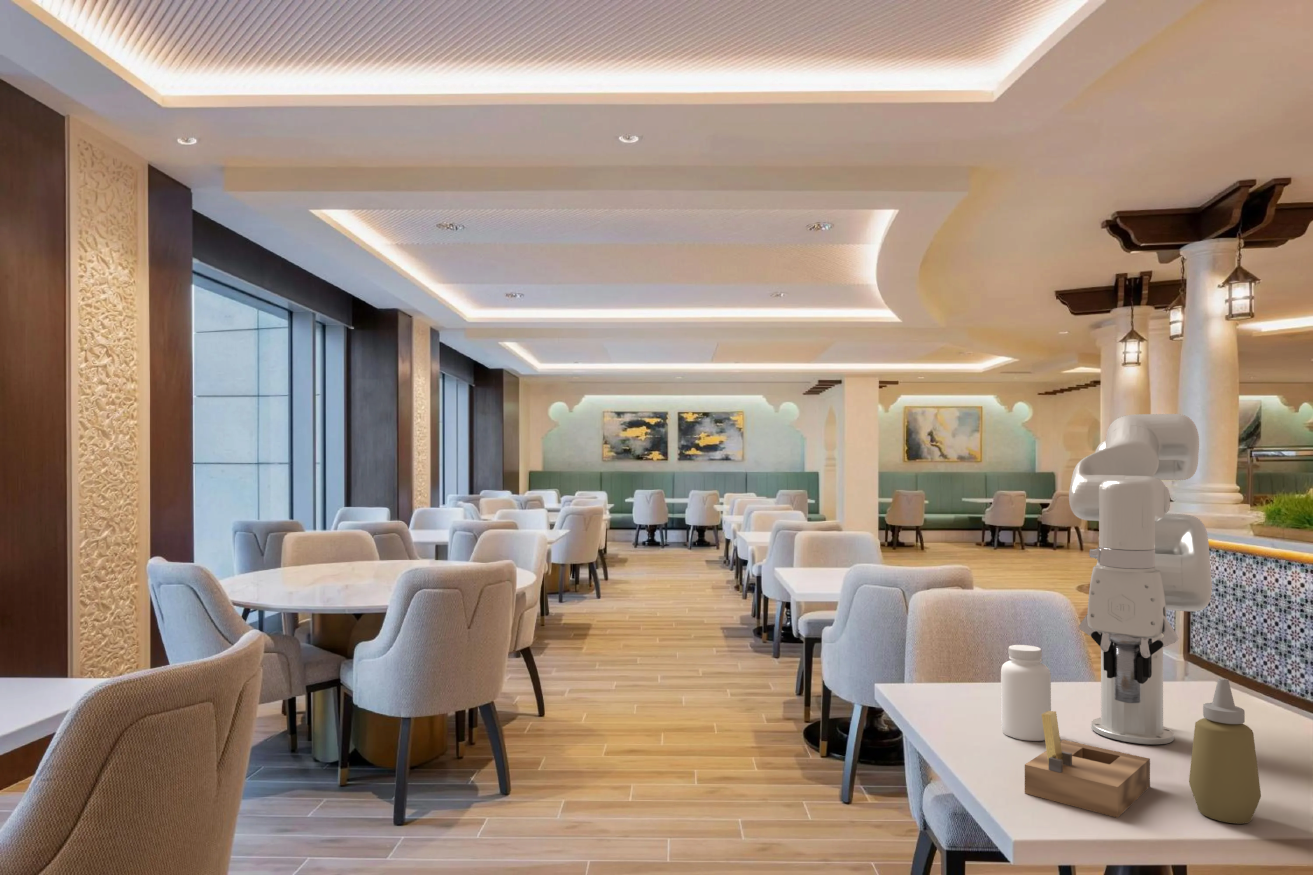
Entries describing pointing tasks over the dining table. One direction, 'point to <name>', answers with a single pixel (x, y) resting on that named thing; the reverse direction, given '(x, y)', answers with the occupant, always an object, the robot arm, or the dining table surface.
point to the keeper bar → (1052, 735)
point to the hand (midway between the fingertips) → (1127, 677)
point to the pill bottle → (1024, 693)
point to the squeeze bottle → (1224, 761)
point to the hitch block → (1089, 778)
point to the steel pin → (1126, 668)
